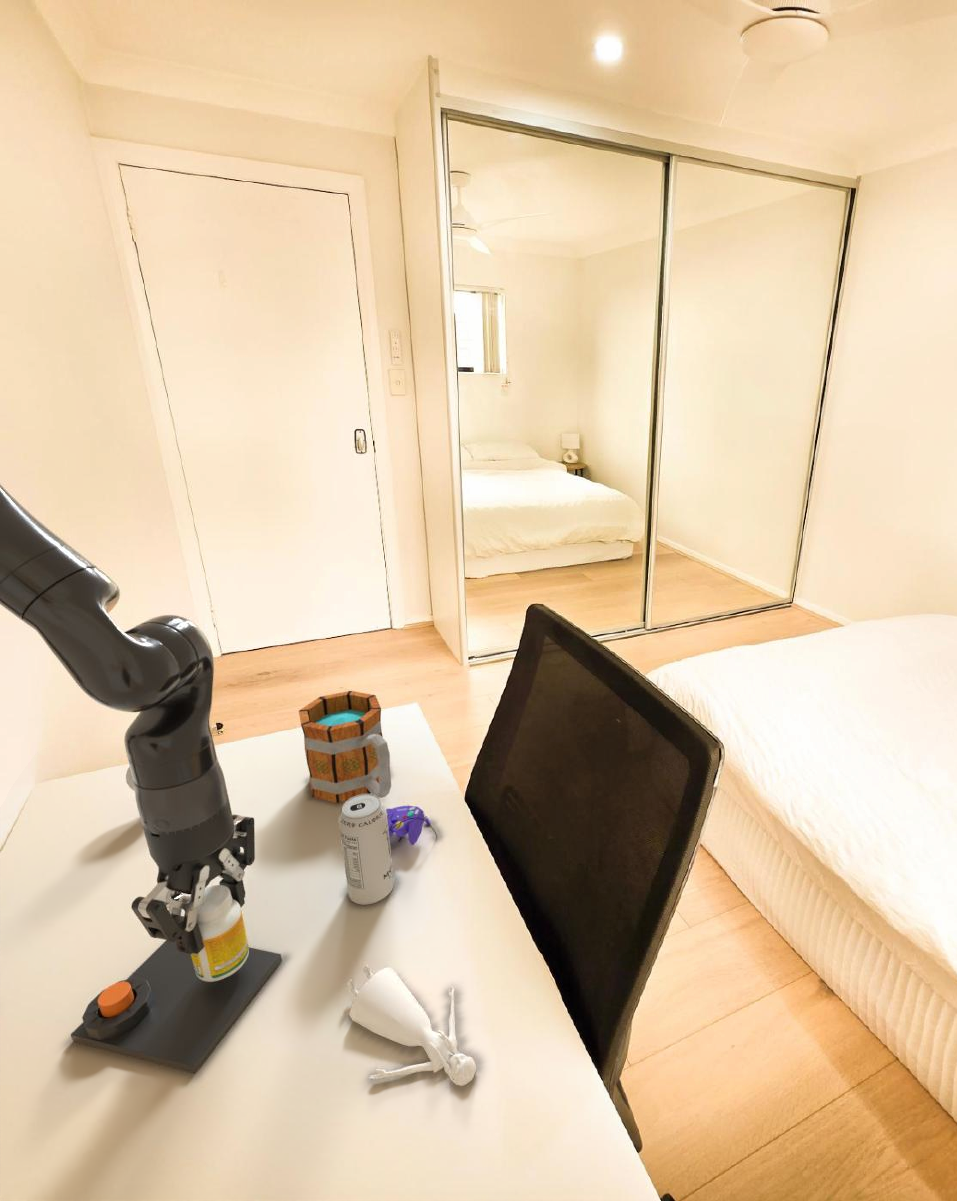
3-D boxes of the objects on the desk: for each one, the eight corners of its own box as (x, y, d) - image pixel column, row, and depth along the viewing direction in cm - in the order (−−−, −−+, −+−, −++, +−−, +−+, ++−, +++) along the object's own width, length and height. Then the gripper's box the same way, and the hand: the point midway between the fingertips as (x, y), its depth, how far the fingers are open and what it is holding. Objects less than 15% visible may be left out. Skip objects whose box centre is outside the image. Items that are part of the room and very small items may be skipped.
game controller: (346, 843, 87) (378, 790, 95) (372, 878, 91) (401, 824, 99) (402, 839, 84) (431, 785, 93) (427, 875, 88) (452, 819, 96)
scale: (74, 1047, 63) (65, 1024, 62) (178, 942, 75) (172, 921, 74) (196, 1078, 60) (189, 1055, 59) (283, 965, 73) (279, 944, 71)
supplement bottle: (185, 982, 66) (167, 918, 63) (214, 941, 71) (200, 879, 68) (233, 984, 66) (217, 919, 63) (259, 942, 71) (246, 880, 68)
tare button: (94, 1014, 63) (90, 1003, 62) (119, 990, 66) (115, 979, 65) (116, 1020, 63) (112, 1008, 62) (140, 995, 65) (137, 984, 65)
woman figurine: (397, 929, 73) (510, 1015, 64) (398, 954, 74) (508, 1042, 66) (310, 1007, 63) (429, 1120, 55) (313, 1034, 65) (430, 1148, 57)
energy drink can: (398, 899, 82) (389, 811, 77) (353, 916, 79) (340, 826, 74) (389, 870, 87) (380, 785, 82) (346, 885, 84) (333, 799, 79)
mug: (293, 785, 105) (281, 711, 100) (362, 752, 115) (354, 683, 110) (354, 835, 94) (343, 755, 89) (424, 794, 104) (419, 719, 99)
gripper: (209, 760, 69) (234, 874, 74) (86, 847, 55) (128, 978, 61) (266, 769, 67) (287, 884, 73) (155, 861, 54) (191, 993, 60)
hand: (214, 926), depth 67 cm, fingers closed on supplement bottle, 5 cm apart
